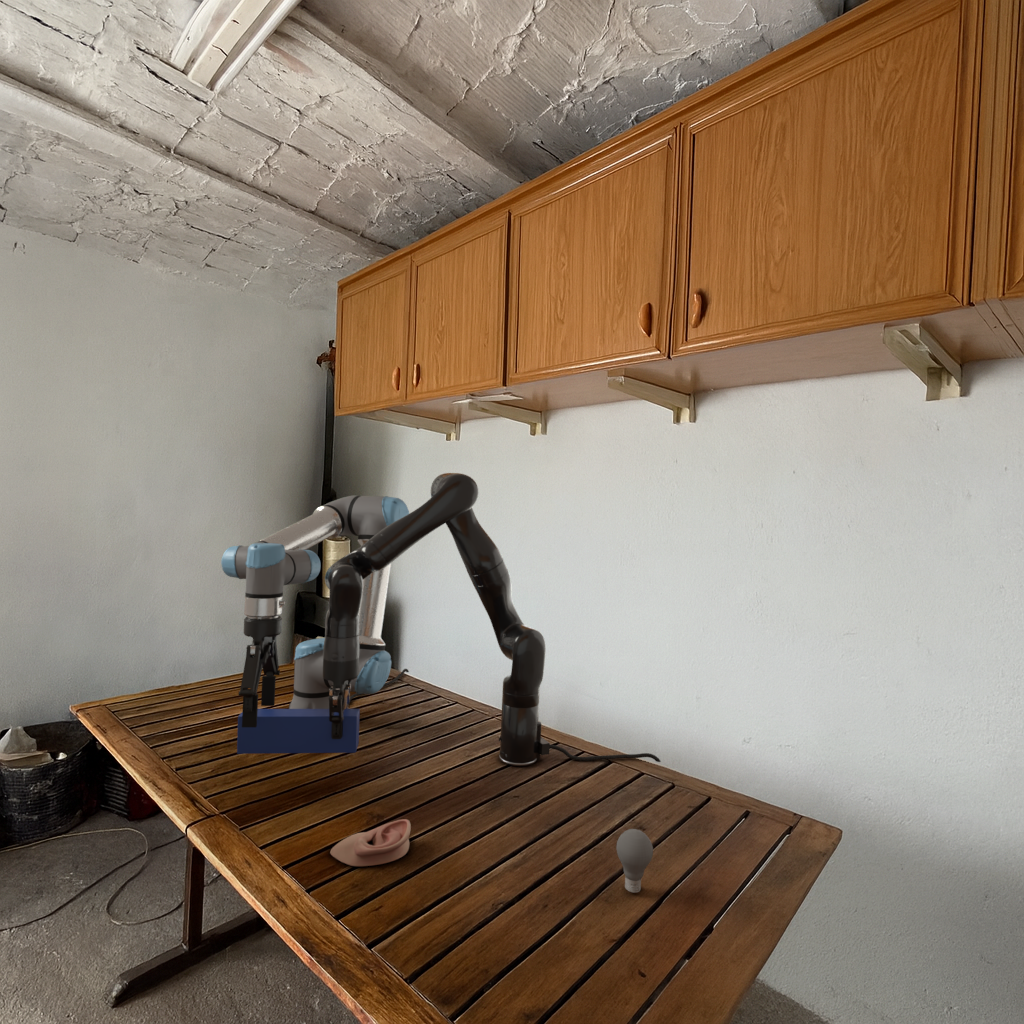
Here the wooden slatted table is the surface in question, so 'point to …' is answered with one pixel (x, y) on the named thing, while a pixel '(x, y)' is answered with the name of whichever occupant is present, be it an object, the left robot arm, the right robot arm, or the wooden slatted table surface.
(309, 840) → the wooden slatted table surface
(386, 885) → the wooden slatted table surface
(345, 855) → the anatomical model
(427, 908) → the wooden slatted table surface
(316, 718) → the bar
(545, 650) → the right robot arm
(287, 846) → the wooden slatted table surface
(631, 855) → the light bulb
